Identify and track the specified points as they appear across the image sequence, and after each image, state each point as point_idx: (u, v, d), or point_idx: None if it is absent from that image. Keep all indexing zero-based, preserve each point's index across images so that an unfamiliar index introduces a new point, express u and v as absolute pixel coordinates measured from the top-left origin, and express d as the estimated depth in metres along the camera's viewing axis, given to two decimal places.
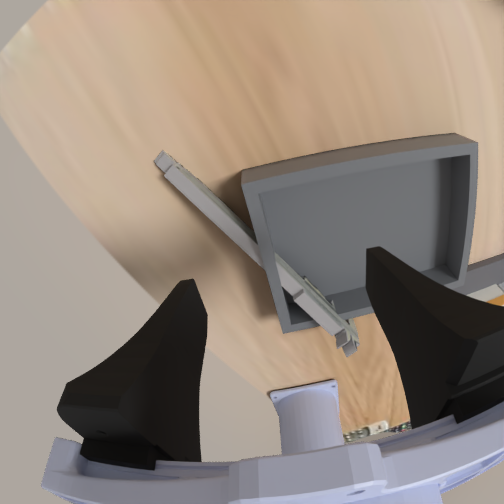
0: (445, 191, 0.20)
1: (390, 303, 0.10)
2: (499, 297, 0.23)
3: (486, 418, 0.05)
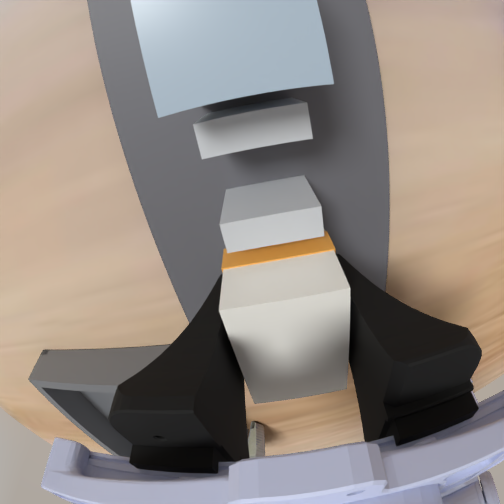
0: None
1: None
2: None
3: (486, 418, 0.05)
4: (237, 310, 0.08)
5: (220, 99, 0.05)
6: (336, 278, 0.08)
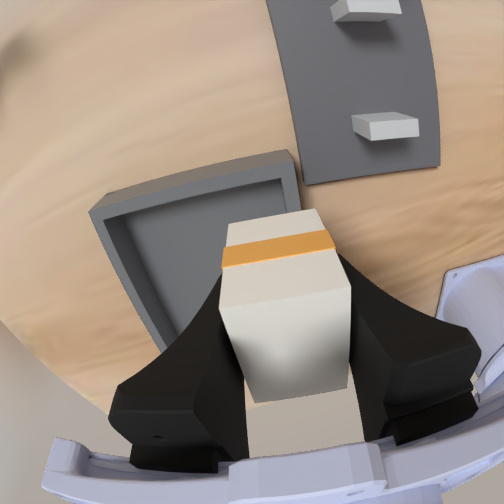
0: None
1: None
2: None
3: (486, 418, 0.05)
4: (238, 308, 0.08)
5: None
6: (336, 276, 0.08)
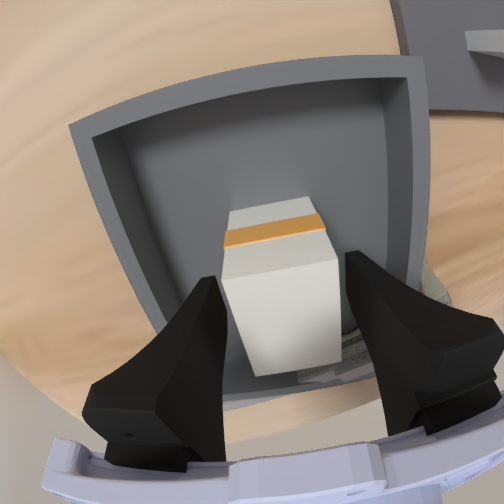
0: (205, 114, 0.11)
1: (366, 308, 0.10)
2: None
3: (486, 418, 0.05)
4: (238, 280, 0.09)
5: None
6: (325, 251, 0.09)
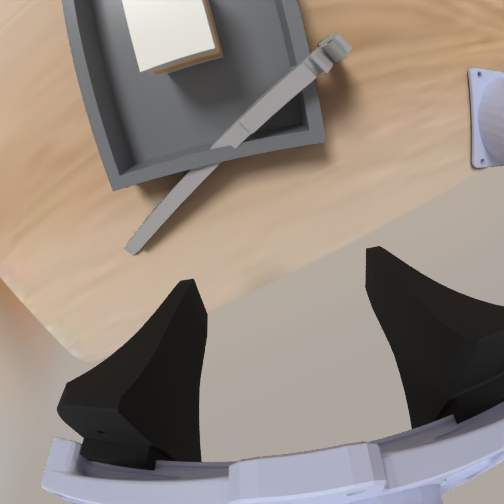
0: None
1: (390, 303, 0.10)
2: None
3: (486, 418, 0.05)
4: None
5: None
6: None
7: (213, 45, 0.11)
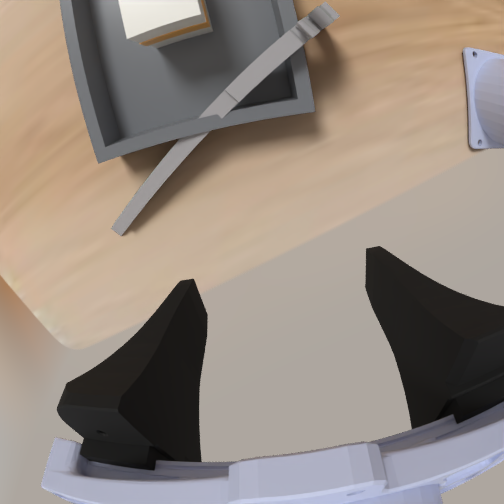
0: None
1: (390, 303, 0.10)
2: None
3: (486, 418, 0.05)
4: None
5: None
6: None
7: (199, 11, 0.10)
